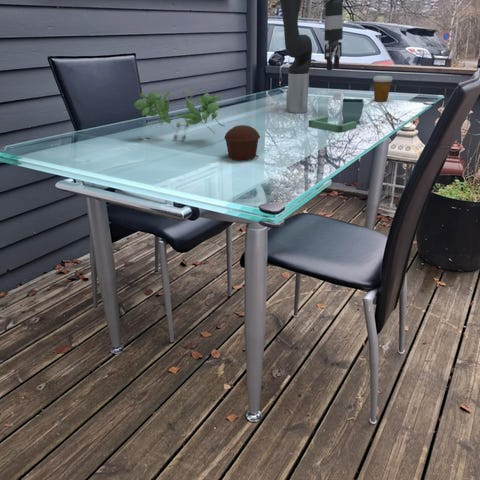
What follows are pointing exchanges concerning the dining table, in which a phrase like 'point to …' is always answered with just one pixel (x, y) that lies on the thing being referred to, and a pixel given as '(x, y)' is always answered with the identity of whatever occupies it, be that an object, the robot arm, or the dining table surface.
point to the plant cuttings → (163, 109)
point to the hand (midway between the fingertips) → (333, 69)
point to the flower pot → (352, 110)
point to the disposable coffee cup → (381, 88)
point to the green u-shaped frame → (323, 123)
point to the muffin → (242, 142)
